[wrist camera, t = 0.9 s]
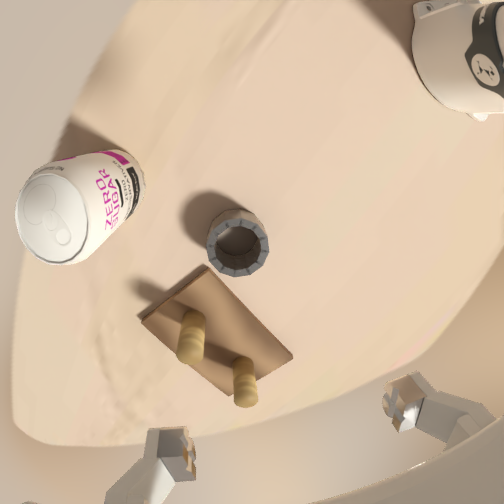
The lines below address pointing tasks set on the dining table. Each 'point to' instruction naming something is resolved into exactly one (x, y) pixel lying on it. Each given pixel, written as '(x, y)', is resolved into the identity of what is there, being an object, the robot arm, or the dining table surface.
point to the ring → (239, 263)
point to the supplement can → (77, 204)
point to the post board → (218, 337)
